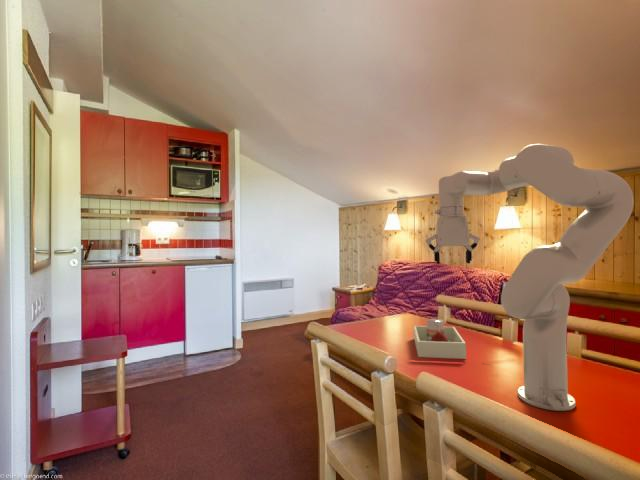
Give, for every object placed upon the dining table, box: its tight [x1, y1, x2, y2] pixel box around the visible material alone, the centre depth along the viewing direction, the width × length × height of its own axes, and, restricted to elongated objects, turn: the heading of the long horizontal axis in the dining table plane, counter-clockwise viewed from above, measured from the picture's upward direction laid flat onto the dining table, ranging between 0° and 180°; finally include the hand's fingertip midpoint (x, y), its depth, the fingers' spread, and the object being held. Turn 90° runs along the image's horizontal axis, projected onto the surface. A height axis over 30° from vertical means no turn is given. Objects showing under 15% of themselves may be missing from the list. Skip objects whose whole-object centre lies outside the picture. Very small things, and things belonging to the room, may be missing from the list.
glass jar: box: [426, 318, 445, 341], centre depth 137 cm, size 6×6×9 cm
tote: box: [413, 325, 467, 360], centre depth 131 cm, size 22×16×6 cm
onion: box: [431, 330, 448, 342], centre depth 126 cm, size 6×6×8 cm
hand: (452, 263), depth 116 cm, fingers open, 9 cm apart
